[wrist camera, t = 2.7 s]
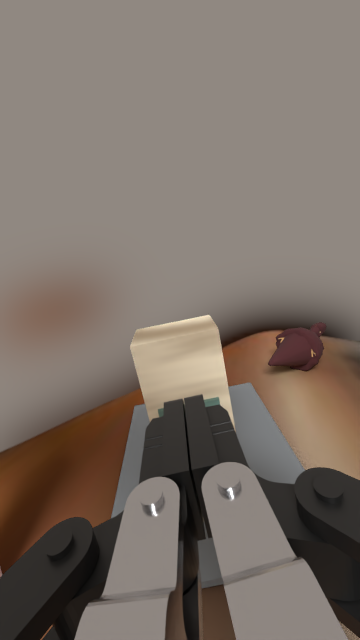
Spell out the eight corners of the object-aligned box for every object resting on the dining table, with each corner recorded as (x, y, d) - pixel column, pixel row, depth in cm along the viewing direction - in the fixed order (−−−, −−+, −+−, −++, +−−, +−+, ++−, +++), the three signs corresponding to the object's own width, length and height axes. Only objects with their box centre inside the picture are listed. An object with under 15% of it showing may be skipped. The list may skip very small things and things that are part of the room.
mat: (355, 557, 18) (355, 551, 18) (95, 609, 18) (93, 603, 18) (250, 385, 42) (250, 382, 41) (135, 409, 42) (134, 405, 42)
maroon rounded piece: (298, 353, 35) (349, 325, 44) (252, 332, 40) (305, 311, 49) (288, 396, 38) (337, 363, 46) (246, 371, 43) (297, 345, 52)
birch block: (250, 516, 22) (219, 329, 18) (177, 530, 22) (129, 348, 18) (237, 473, 26) (209, 314, 22) (176, 486, 26) (136, 329, 22)
